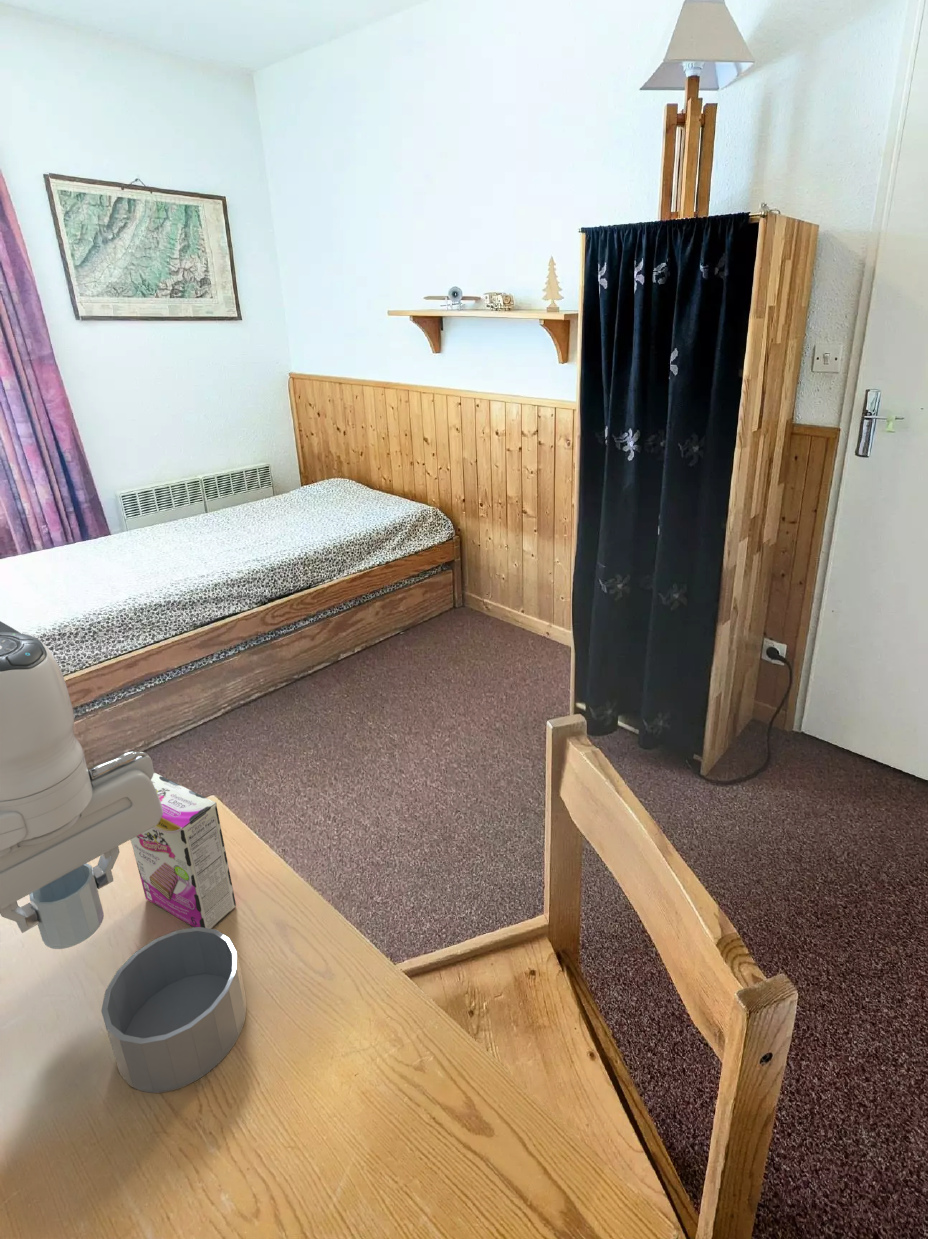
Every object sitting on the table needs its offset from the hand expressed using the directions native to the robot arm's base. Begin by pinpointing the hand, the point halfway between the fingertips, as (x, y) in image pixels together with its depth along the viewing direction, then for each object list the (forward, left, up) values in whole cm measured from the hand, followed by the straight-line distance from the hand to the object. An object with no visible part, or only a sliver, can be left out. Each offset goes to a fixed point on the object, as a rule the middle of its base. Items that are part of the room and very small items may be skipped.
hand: (67, 903), depth 69 cm
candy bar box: (-2, +12, -12) cm, 17 cm away
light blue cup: (0, 0, -3) cm, 3 cm away
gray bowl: (+12, +4, -12) cm, 18 cm away
